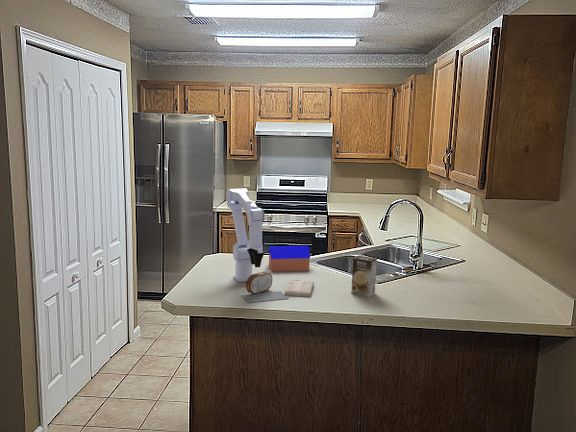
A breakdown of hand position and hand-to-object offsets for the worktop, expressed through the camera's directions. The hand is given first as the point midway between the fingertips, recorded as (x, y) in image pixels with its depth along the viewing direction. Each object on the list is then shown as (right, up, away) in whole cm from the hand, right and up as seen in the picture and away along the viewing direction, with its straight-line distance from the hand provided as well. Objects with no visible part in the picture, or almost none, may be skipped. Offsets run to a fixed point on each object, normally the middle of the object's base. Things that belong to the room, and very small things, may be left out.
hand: (255, 265), depth 229 cm
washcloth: (+20, -12, 0) cm, 23 cm away
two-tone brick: (+15, -5, +37) cm, 40 cm away
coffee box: (+48, -12, -3) cm, 49 cm away
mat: (+4, -12, -10) cm, 17 cm away
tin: (+2, -11, -4) cm, 12 cm away
